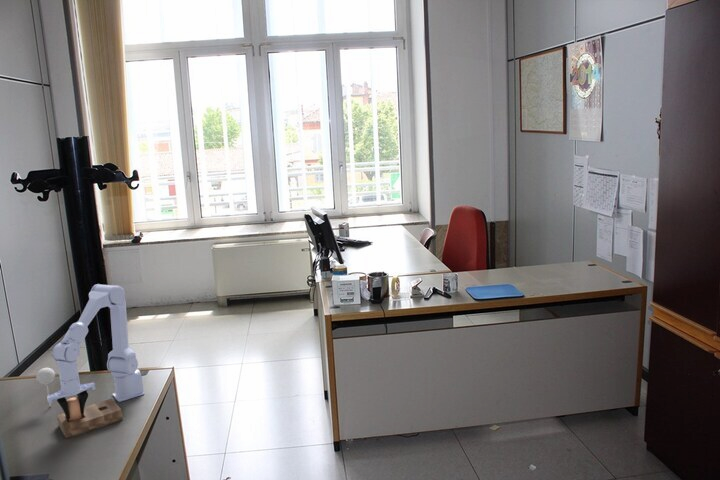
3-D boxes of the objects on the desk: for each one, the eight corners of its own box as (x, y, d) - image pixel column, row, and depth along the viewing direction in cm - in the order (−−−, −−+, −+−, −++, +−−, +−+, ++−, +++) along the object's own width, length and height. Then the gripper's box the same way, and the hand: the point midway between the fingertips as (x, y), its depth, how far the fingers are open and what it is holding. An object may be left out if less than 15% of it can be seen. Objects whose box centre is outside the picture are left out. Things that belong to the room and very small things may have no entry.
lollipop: (51, 411, 214) (45, 372, 211) (37, 410, 216) (31, 371, 212) (63, 403, 220) (57, 365, 217) (49, 402, 222) (43, 364, 218)
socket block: (113, 408, 215) (111, 398, 214) (122, 420, 206) (121, 409, 205) (58, 426, 204) (56, 415, 203) (66, 439, 195) (64, 427, 194)
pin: (80, 417, 205) (77, 396, 203) (83, 421, 202) (80, 400, 200) (67, 421, 202) (64, 399, 201) (71, 426, 199) (67, 403, 197)
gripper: (88, 367, 206) (93, 403, 209) (42, 380, 197) (48, 418, 200) (95, 373, 201) (100, 411, 204) (47, 387, 192) (54, 426, 194)
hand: (74, 415), depth 201 cm, fingers closed on pin, 4 cm apart
